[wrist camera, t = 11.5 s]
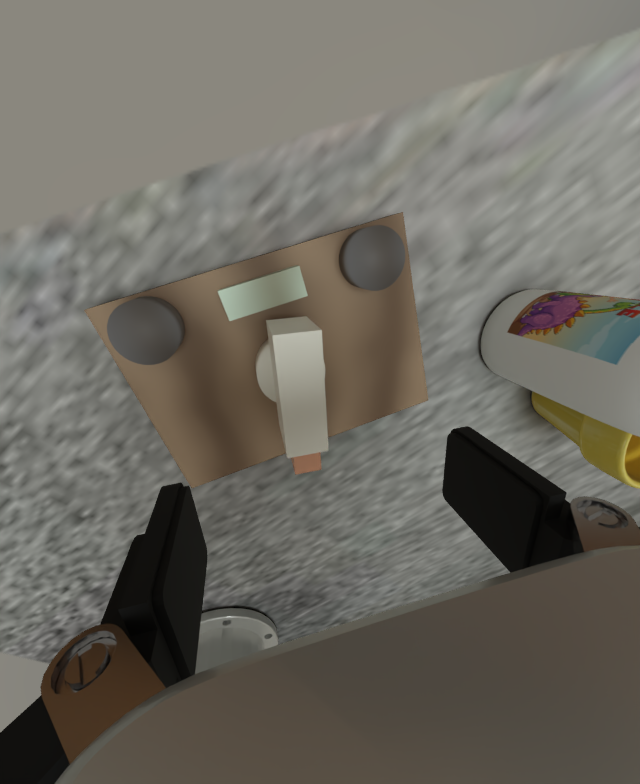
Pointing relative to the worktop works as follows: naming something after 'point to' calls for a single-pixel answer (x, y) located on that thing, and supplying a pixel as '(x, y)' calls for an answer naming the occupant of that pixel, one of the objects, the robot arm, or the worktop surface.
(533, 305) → the milk bottle
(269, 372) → the wing knob
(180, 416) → the brown lever switch panel
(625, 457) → the plant pot
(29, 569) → the worktop surface
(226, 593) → the worktop surface
